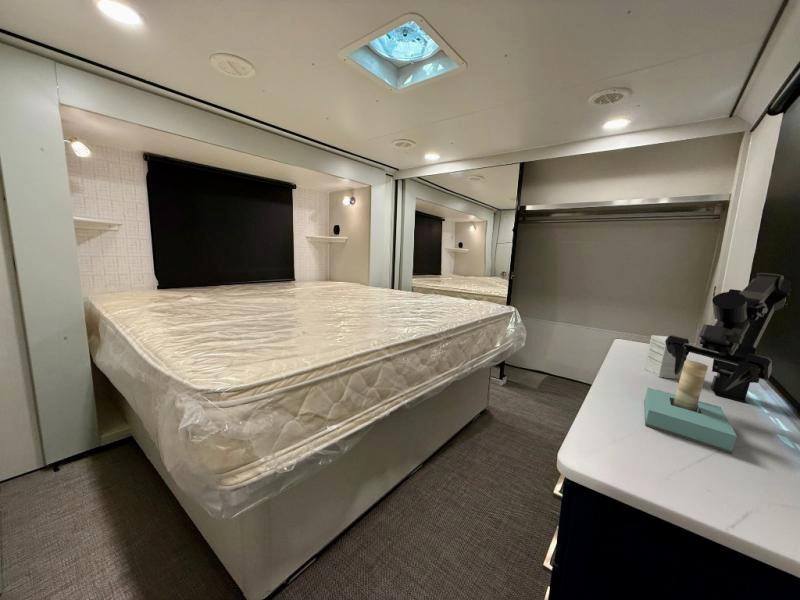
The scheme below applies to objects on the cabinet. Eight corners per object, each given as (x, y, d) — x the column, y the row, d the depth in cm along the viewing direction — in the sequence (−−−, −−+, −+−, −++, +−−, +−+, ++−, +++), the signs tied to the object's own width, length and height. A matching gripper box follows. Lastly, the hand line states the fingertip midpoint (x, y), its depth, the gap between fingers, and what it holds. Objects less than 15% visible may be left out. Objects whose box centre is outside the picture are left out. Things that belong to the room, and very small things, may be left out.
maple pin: (685, 415, 76) (700, 362, 74) (696, 424, 72) (712, 368, 70) (667, 411, 77) (680, 359, 74) (676, 420, 73) (691, 365, 71)
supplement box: (665, 371, 108) (673, 336, 106) (682, 379, 101) (691, 343, 99) (643, 368, 109) (650, 334, 107) (658, 377, 102) (666, 340, 99)
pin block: (716, 421, 75) (720, 406, 74) (731, 453, 63) (736, 436, 62) (644, 400, 84) (647, 387, 83) (645, 425, 71) (648, 409, 70)
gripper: (676, 306, 83) (648, 349, 80) (783, 324, 67) (753, 379, 64) (681, 331, 88) (655, 373, 85) (782, 353, 72) (754, 406, 69)
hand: (698, 381), depth 76 cm, fingers open, 9 cm apart
